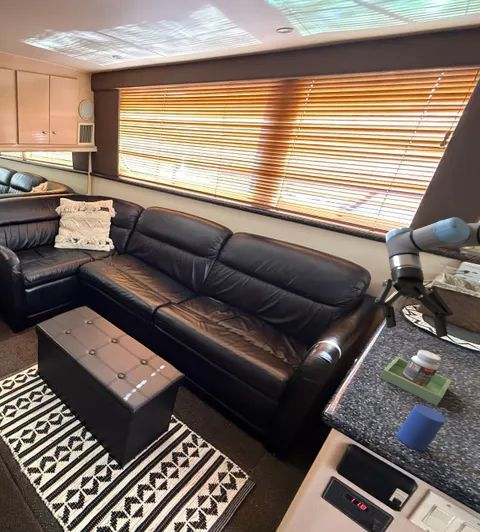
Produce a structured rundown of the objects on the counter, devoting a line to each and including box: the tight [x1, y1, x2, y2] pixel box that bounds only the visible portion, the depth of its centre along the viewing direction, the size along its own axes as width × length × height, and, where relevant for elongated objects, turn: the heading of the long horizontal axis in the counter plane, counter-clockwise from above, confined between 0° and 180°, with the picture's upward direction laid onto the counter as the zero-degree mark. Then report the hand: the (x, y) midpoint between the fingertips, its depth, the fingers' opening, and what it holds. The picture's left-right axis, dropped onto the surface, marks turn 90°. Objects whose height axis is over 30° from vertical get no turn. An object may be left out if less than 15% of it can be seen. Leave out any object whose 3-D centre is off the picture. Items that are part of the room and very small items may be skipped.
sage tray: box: [379, 356, 453, 406], centre depth 96 cm, size 13×15×3 cm
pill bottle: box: [401, 349, 442, 387], centre depth 95 cm, size 6×6×10 cm
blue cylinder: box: [396, 404, 447, 452], centre depth 73 cm, size 5×5×9 cm
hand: (416, 331), depth 99 cm, fingers open, 13 cm apart
